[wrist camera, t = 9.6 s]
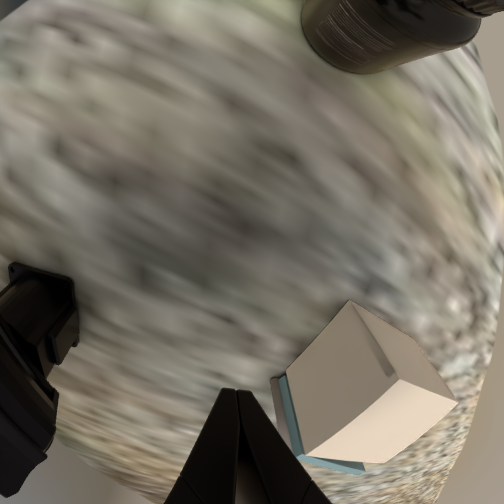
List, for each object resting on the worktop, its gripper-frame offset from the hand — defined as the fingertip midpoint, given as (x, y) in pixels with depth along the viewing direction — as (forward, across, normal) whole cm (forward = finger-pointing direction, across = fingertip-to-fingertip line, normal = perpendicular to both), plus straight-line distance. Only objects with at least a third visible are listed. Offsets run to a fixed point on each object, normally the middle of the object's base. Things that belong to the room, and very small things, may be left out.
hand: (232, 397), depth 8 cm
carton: (+12, -12, +8) cm, 19 cm away
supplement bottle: (+12, -4, -16) cm, 21 cm away
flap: (+12, -10, +13) cm, 20 cm away
